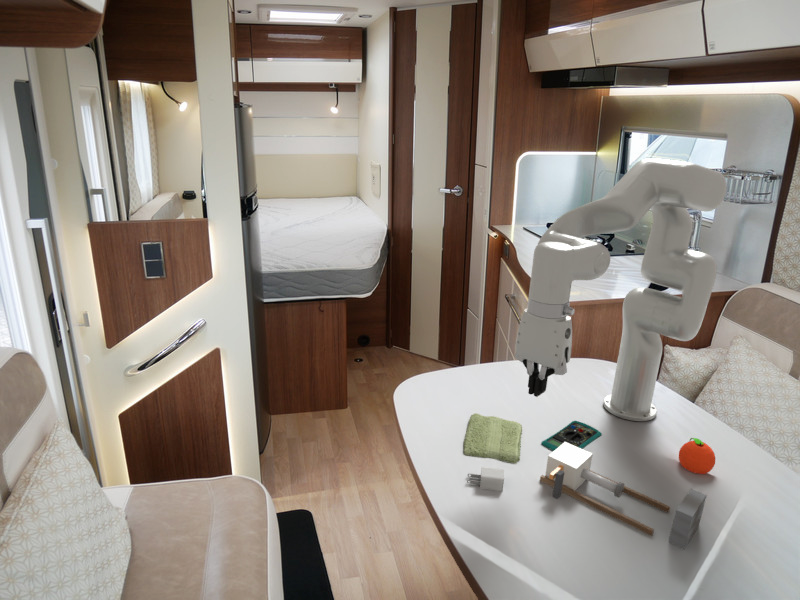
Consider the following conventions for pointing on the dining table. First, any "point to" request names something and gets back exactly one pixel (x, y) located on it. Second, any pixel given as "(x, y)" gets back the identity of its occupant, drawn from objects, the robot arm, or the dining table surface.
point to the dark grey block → (558, 484)
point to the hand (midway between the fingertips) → (536, 392)
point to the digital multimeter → (572, 436)
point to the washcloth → (493, 438)
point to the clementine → (697, 456)
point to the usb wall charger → (489, 479)
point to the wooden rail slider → (684, 516)
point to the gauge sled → (577, 469)
